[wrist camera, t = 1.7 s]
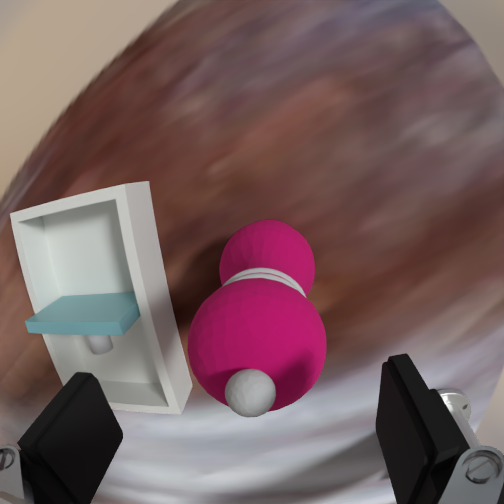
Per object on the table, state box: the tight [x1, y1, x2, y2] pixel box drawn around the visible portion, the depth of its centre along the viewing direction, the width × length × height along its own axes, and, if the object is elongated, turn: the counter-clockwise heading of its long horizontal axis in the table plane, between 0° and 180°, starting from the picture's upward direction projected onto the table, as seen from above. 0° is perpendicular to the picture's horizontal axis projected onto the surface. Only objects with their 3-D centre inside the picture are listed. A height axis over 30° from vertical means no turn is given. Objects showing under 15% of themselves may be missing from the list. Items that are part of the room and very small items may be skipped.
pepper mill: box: [188, 219, 326, 417], centre depth 19 cm, size 7×7×20 cm
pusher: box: [25, 292, 141, 355], centre depth 28 cm, size 5×11×7 cm, turn 98°
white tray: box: [10, 181, 193, 415], centre depth 29 cm, size 22×14×5 cm, turn 7°
